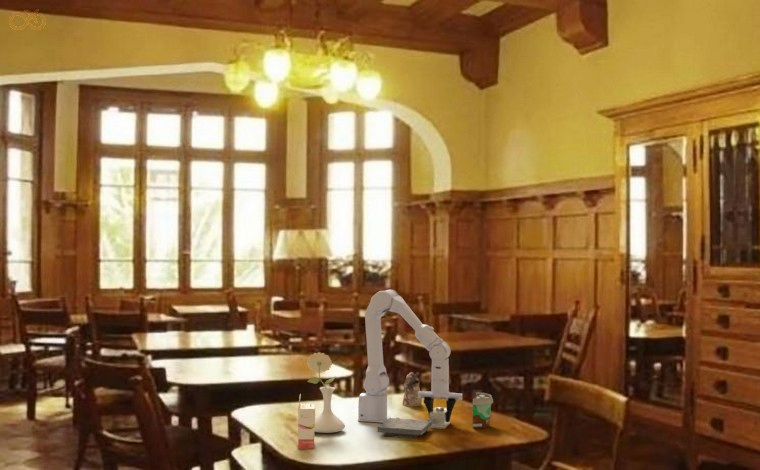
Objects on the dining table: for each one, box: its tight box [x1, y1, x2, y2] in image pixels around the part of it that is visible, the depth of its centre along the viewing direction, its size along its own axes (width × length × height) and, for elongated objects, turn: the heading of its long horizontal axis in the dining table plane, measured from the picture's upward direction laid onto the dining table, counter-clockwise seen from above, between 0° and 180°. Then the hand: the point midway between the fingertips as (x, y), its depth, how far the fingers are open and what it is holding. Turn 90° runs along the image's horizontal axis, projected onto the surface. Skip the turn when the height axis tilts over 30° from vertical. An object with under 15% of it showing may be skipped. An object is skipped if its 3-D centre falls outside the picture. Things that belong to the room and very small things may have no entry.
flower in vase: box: [305, 351, 346, 434], centre depth 268 cm, size 13×11×25 cm
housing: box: [428, 406, 451, 430], centre depth 279 cm, size 5×9×6 cm, turn 164°
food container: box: [472, 391, 494, 429], centre depth 278 cm, size 12×6×10 cm, turn 168°
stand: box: [377, 417, 432, 439], centre depth 266 cm, size 14×14×3 cm
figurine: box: [402, 371, 423, 407], centre depth 313 cm, size 7×7×12 cm
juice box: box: [297, 393, 316, 450], centre depth 250 cm, size 9×5×15 cm, turn 5°
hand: (439, 420), depth 279 cm, fingers closed on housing, 5 cm apart
